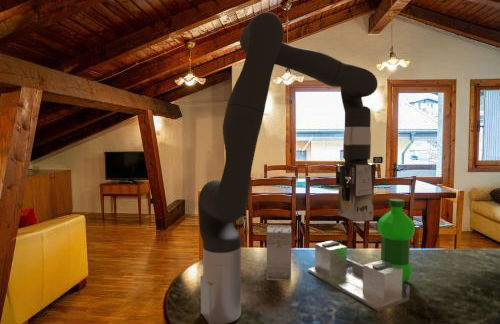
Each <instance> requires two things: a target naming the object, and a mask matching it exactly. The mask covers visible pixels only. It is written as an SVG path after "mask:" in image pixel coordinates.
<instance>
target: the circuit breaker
mask: <svg viewBox="0 0 500 324" xmlns="http://www.w3.org/2000/svg"><path fill="white" fill-rule="evenodd" d="M266 229H267V230H266V281H285V282H286V281H287V282H291V281H292V226H291V225H280V224H279V225H275V224H274V225H272V224H271V225H270V224H268V225H267V228H266Z"/></svg>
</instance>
